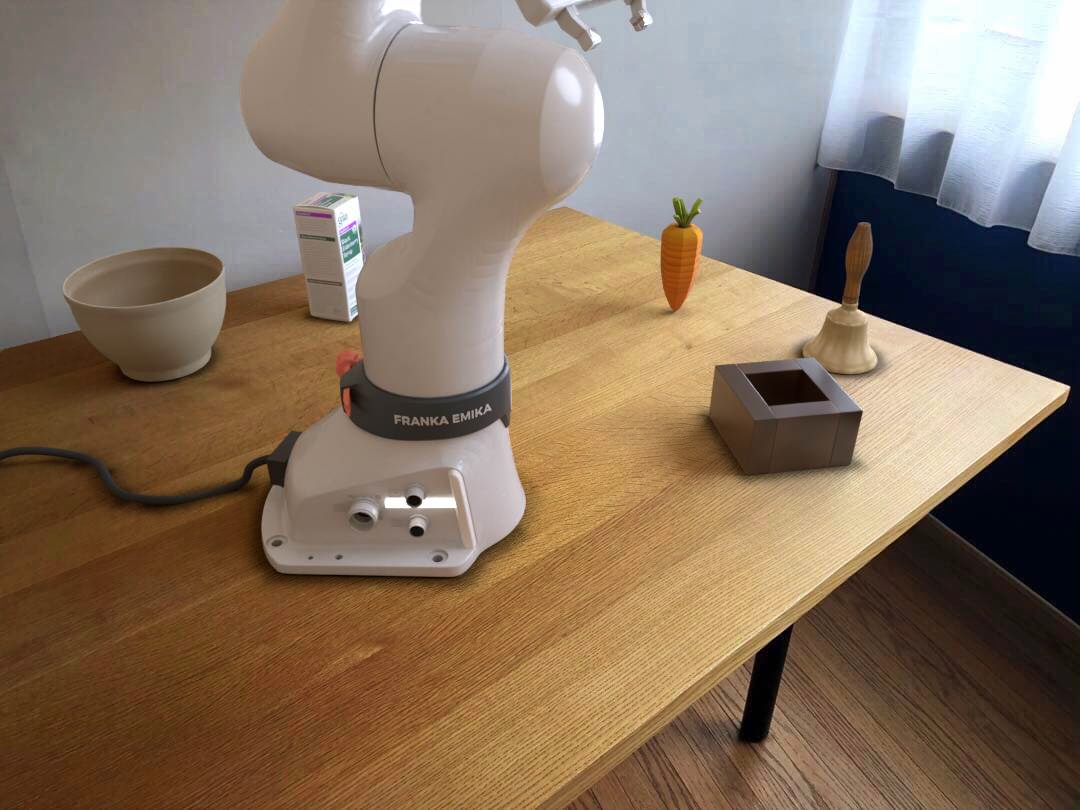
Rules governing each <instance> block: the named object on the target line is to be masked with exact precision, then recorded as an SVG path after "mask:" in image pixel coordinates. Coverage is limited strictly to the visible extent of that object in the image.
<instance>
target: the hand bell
mask: <svg viewBox="0 0 1080 810" xmlns="http://www.w3.org/2000/svg"><path fill="white" fill-rule="evenodd" d="M873 248H874V247H873V235H872V228H871V223H870V222H864V221H862V222H858V223H857V226H856V228H855V230H854V232H853V234H852V236H851V237H850V239H849V241H848V244H847V248H846V252H845V271H846V281H845V287H844V290H843V296H842V302H841V305H840V306H838V307H837V306H836V307H834V308H831V309H830V310H828V311H827V313H826V315H825V318H824V321H823V324H822V326H821V329H820V331H819V332H818V334H817V335H816V336H815V337H814V338H812V339H811V340H809V341H807V343H805V345H804V346H803V347H802V356H803V358H811V357H813V358H815V360H816V361H817V362H818V363H819V364H820V365H821V366H822V367H823V368H824V369H825V370H826V371H827V372H828V373H829V372H830V373H833V374H834V373H835V374H840V375H859V374H864V373H867V372H870V371H872V370H873V369H875V368H876V367H877V365H878V357H877V354H876V352H875V351H874V349H873V348H872V347H871V345H870V343H869V337H868V327H869V325H868V324H869V318H868V317H869V316H867V314H866V313H865V312H864V311H862V310H860V309H858V306H859V300H860V299H859V296H860V291H861V286H862V280H863V277H864V276H865V274H866V272H867V270H868V268H869V266H870V262H871V259H872V256H873V255H872V254H873Z"/></svg>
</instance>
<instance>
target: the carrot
mask: <svg viewBox="0 0 1080 810" xmlns="http://www.w3.org/2000/svg"><path fill="white" fill-rule="evenodd" d="M703 202H704V200H703V198H699V197H698V198H697V199H696V201H695V202H694V203H693V205H692V206H691V209H690V210H689V211H690V212H689V211H687V208H686V205H685V203H684V201H683V198H680V197H679V196H675V197H673V198H672V205H673V209H674V212H675V214H673V215H672V217H673V219H674V221H675V222H672V223H670V224H669V225H667V226H666V227H665V228H664V229H663V230H662V232H661V238H660V242H661V243H660V262H659V263H660V275H661V282H662V288H663V292H664V296H665V298H666V301H667V303H668V305H669V308H670V309H671V310H672V311H673V312H678V311H679V310H680V309H681V308H682V306H683V305H684V303H685V302H686V300H687V298H688V297H689V295H690V293H691V291H692V289H693V286H694V283H695V280H696V276H697V273H698V270H699V266H700V260H701V255H702V247H703V246H702V245H703V239H704V233H703V231H702V230H701V229H700V228H699V227H698V226H696V225H695V224H694V223H691V222H692V221H693V219H694V218H695V217H696V216H697V215H700V214H701V212H702V211H701V209H699V208H700V207H701V205H702V204H703Z"/></svg>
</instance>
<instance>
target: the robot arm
mask: <svg viewBox="0 0 1080 810" xmlns="http://www.w3.org/2000/svg"><path fill="white" fill-rule="evenodd" d="M422 1H423V0H285V1H284V4H283V5H282V7H281V9H280V10H279V12H278V14H277V15H276V17H275V18H274V20H273V21H272V22H271V23H270V25H269V26H268V27H266V29H265V30H264V31H263V32H262V33H260V35H259V36H258V37H256V39H255V40H254V42H253V43H252V45H251V47H250V48H249V51H248V52H247V55H246V57H245V59H244V62H243V65H242V69H241V73H240V79H239V103H240V104H239V105H240V110H241V114H242V115H241V116H242V119H243V122H244V124H245V127H246V130H247V132H248V134H249V136H250V138H251V140H252V142H253V143H254V145H255V147H256V148H257V149H258V151H260V153H261V154H262V155H263V156H264V157H266V158H267V159H269V160H270V161H272V162H273V163H276V164H278V165H280V166H283V167H285V168H288V169H290V170H293V171H295V172H298V173H300V174H303V175H306V176H308V177H310V178H311V177H312V178H314V179H317V180H318V181H319V180H320V181H321V182H325V183H329V184H337V185H343V186H344V185H345V186H350V187H359V188H366V189H372V190H373V189H375V190H381V191H388V192H397V193H402V194H405V195H408V196H409V197H410V199H411V202H412V206H413V207H412V208H413V224H412V230H411V231H409V232H406V233H405V234H402V235H400V236H398V237H395V238H394V239H392V240H389V241H387V242H386V243H384V244H383V245H381V246H380V247H378V248H376V249H375V251H373V252H372V253H371V254H370V255H369V256H368V258H367V259H366V262H365V263H364V265H363V267H362V269H361V271H360V273H359V276H358V279H357V282H356V287H355V294H356V303H357V311H358V315H357V318H358V328H359V334H360V335H359V336H360V344H361V352H362V358H360V357H361V356H360V354H359V353H357V351H356V350H354V349H353V350H352V349H345V350H344V349H343V350H341V351H340V352H339V353H338V355H337V356H336V357H335V359H336V360H335V365H336V366H335V373H336V375H337V377H338V378H340V379H339V394H340V402H341V404H339V405H338V406H337V407H335V408H334V409H333V410H331V411H329V412H328V413H326V414H325V415H324V416H322V417H321V418H320V419H318V420H317V421H316V422H314V423H312V424H311V425H310V426H308V427H307V428H305V429H304V430H303V431H297V430H291V431H290V432H289V433H288V434H287V435H286V436H285V437H284V438H283V440H282V441H280V443H278V445H277V446H276V448H275V449H274V450H272V452H271V453H269V454H265V455H261V456H258V457H256V458H254V459H252V460H251V461H249V462H248V463H247V464H246V465H245V467H244V469H243V473H242V475H241V477H240V478H238V479H235V480H234V481H232V482H230V483H227V484H225V485H222V486H220V487H218V488H215V489H210V490H207V491H203V492H198V493H192V494H184V495H183V494H182V495H151V494H143V493H142V494H141V493H134V492H130V491H127V490H125V489H123V488H122V487H120V486H118V485H117V484H116V482H115V481H114V479H113V477H112V474H110V471H109V470H108V468H107V466H106V465H105V464H104V463H103V461H101V460H100V459H98V458H97V457H95V456H94V455H91V454H87V453H85V452H81V451H80V452H79V451H76V450H75V451H74V450H69V449H63V448H58V447H48V446H20V447H19V446H18V447H12V448H8V449H4V450H1V451H0V462H1V461H4V459H8V458H13V457H17V456H47V457H56V458H61V459H68V460H74V461H79V462H81V463H82V462H83V463H86V464H88V465H90V466H91V467H93V468H94V469H95V470H96V471H97V473H98V475H99V476H100V477H101V480H102V482H103V484H104V486H105V487H106V489H107V490H108V491H109V492H110V493H111V494H112V495H114V496H115V497H116V498H118V499H120V500H123V501H126V502H130V503H135V504H143V505H144V504H145V505H156V506H157V505H158V506H164V505H165V506H173V505H180V504H186V503H190V502H195V501H199V500H202V499H206V498H209V497H214V496H219V495H222V494H227V493H232V492H236V491H237V490H239V489H241V488H243V487H244V486H246V485H247V484H248V483H249V482H250V481H251V479H252V477H253V473H254V471H255V470H256V469H257V468H259V467H262V466H264V465H266V468H267V472H268V477H269V482H270V485H271V486H272V487H271V488H270V490H269V491H268V494H267V497H266V499H265V502H264V505H263V510H262V515H261V529H260V530H261V543H262V549H263V552H264V555H265V558H266V559H267V561H268V563H269V564H270V565H271V566H272V567H273V568H274V570H276V572H278V573H280V574H286V575H287V574H288V575H289V574H290V575H291V574H292V575H326V576H327V575H331V576H332V575H335V576H336V575H337V576H383V577H432V578H434V577H436V578H437V577H438V578H439V577H440V578H453V577H458V576H461V575H463V574H464V573H465V572H467V571H468V570H469V569H470V568H471V566H472V565H473V564H474V562H476V560H477V558H478V557H479V556H480V554H481V553H483V552H484V551H485V550H487V549H488V548H490V547H492V546H494V545H495V544H497V543H498V542H500V541H501V540H503V539H505V538H506V537H507V536H508V535H509V534H510V533H512V532H513V531H514V529H516V527H517V526H518V525H519V523H520V521H521V520H522V518H523V516H524V514H525V511H526V506H527V498H526V493H525V490H524V487H523V485H522V483H521V479H520V477H519V473H518V470H517V465H516V462H515V457H514V453H513V448H512V442H511V435H510V428H509V426H510V424H511V414H512V412H513V381H512V380H513V379H512V370H511V368H510V367H511V366H510V363H509V360H508V355H507V353H506V352H505V311H506V310H505V308H506V307H505V305H506V293H507V292H506V291H507V283H508V275H509V270H510V267H511V263H512V260H513V258H514V255H515V253H516V251H517V248H518V246H519V245H520V242H521V241H522V239H523V238H524V236H526V233H527V232H528V231H529V230H530V228H531V227H532V226H533V225H534V223H535V222H536V221H538V219H539V218H540V217H542V216H543V215H544V214H545V213H546V212H548V211H549V210H550V209H552V208H553V207H554V206H556V205H558V204H559V203H561V202H562V201H564V200H565V199H567V198H569V196H570V195H572V194H573V193H574V192H575V191H576V190H577V189H578V188H579V186H581V185H582V183H583V182H584V181H585V179H586V178H587V177H588V175H589V174H590V172H591V170H592V168H594V165H595V163H596V160H597V158H598V155H599V153H600V150H601V147H602V144H603V138H604V133H605V108H604V101H603V96H602V93H601V88H600V86H599V83H598V81H597V78H596V76H595V74H594V72H593V70H592V68H591V67H590V65H589V62H588V61H587V60H586V59H585V58H584V56H583V55H582V53H581V52H580V51H578V50H577V49H576V48H574V47H570V46H567V45H564V44H561V43H558V42H555V41H552V40H549V39H545V38H544V37H540V36H537V35H533V34H530V33H529V34H528V33H524V32H521V31H517V30H514V29H511V28H497V27H486V26H485V27H483V26H469V25H467V26H466V25H451V24H437V23H436V24H435V23H425V22H423V19H422V3H423V2H422ZM514 1H515V3H516V5H517V7H518V8H519V11H520V12H521V15H522V16H523V18H524V20H525V21H526V22H528V24H530V25H531V26H533V27H536V28H537V27H541V26H545V25H548V24H550V23H553V22H556V23H557V24H558V26H559V29H561V30H562V31H563V32H564V33H566V34H567V35H569V36H570V37H571V38H573V39H574V40H576V41H577V42H578V45H579V46H580V48H581V50H582V51H583V52H585V53H586V52H590V51H592V50H594V49H596V48H597V47H598V46H599V45H600V44H601V43H602V38H601V36H600V35H599V34H598V31H597V29H596V28H595V26H592V27H589V26H588V25H587V24H586V23H585V22H584V21H582V20H581V19H580V18H579V15H580V13H583V12H586V11H589V10H592V9H595V8H597V7H601V6H604V5H607V4H609V3H613V2H615V1H617V0H514ZM623 2H624V4H625V5H626V6H630V11H631V12H630V13H631V18H629V20H628V21H629V23H630V25H631V26H632V27H633V29H634V31H635V32H637V33H639V32H641V31H642V32H643V31H645V30H647V29H648V28H649V27H650V26H651V25H652V24H653V17H652V16H651V14H650V13H649V11H648V9H647V0H623Z"/></svg>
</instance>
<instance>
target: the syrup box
mask: <svg viewBox="0 0 1080 810" xmlns="http://www.w3.org/2000/svg"><path fill="white" fill-rule="evenodd" d="M359 202H360V201H359V196H357V195H353V194H350V193H344V192H333V191H317V192H315V193H314V195H312V196H311V197H309V198H307V199H305V200H303V201H301V202H299V203H297V204H295V205H294V206H292V211H293V217H294V224H295V229H296V236H297V242H298V247H299V248H298V249H299V253H300V259H301V260H300V261H301V265H302V271H303V276H304V282H305V288H306V294H307V300H308V307H309V312H310V316H312V317H316V318H319V319H325V320H333V321H340V322H347V323H351V322H352V321H353V319H354V318H355V317H358V311H357V303H356V294H355V287H356V282H357V279H358V276H359V273H360V271H361V269H362V267H363V265H364V263H365V262H366V260H367V259H366V258H367V257H366V251H365V243H364V235H363V226H362V218H361V211H360V203H359Z"/></svg>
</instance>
